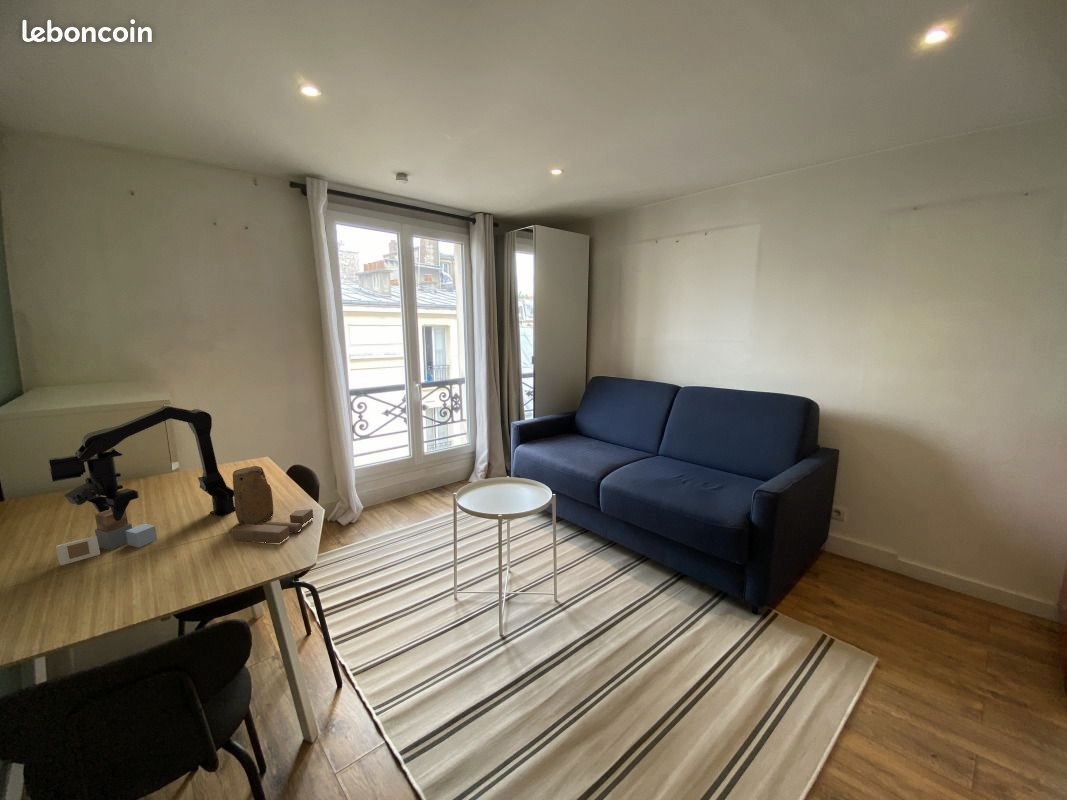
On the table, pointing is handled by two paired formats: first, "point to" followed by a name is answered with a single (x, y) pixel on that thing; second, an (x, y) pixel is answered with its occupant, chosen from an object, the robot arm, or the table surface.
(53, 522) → the table surface
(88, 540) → the placard
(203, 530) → the table surface
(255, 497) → the block
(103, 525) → the walnut cube
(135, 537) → the slate cube
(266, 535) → the wooden block set
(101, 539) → the base block
